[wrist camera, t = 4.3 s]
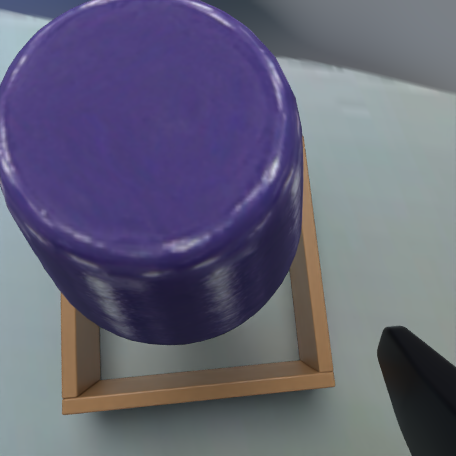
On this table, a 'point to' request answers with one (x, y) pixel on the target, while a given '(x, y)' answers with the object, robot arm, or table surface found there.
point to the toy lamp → (154, 166)
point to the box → (212, 378)
